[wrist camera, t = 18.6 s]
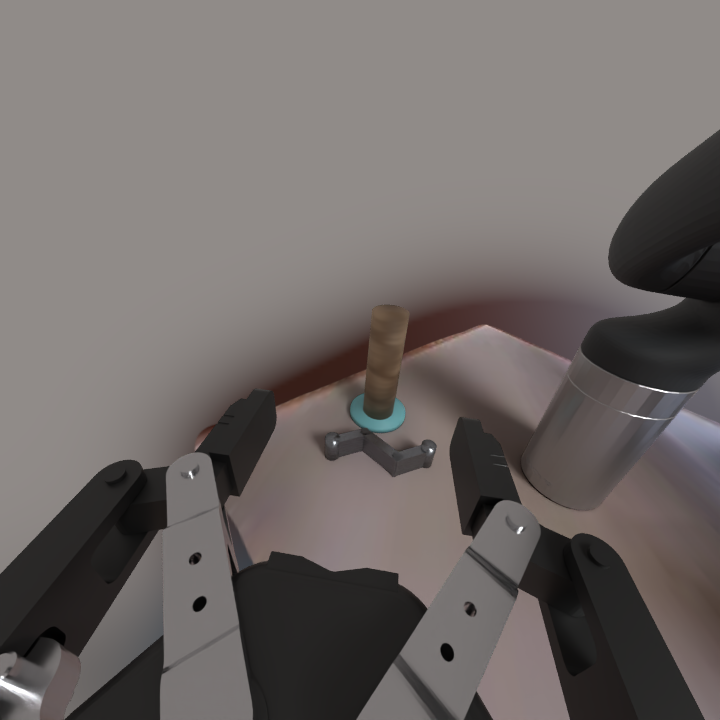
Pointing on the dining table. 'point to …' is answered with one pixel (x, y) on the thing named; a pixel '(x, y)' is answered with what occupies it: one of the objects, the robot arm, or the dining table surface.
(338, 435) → the zigzag rail
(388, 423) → the teal pad
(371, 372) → the walnut peg
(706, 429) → the dining table surface
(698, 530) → the dining table surface
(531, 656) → the dining table surface
